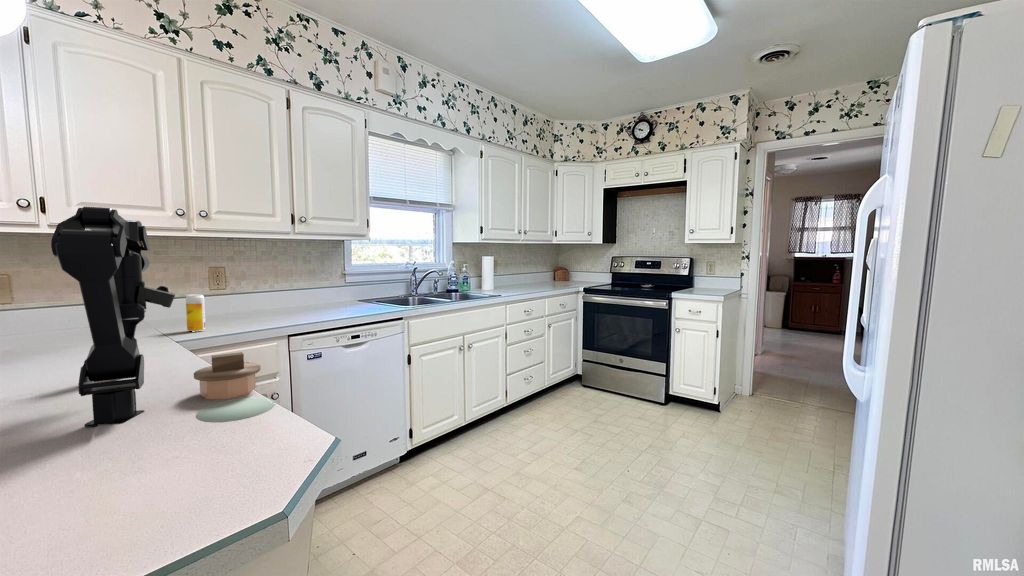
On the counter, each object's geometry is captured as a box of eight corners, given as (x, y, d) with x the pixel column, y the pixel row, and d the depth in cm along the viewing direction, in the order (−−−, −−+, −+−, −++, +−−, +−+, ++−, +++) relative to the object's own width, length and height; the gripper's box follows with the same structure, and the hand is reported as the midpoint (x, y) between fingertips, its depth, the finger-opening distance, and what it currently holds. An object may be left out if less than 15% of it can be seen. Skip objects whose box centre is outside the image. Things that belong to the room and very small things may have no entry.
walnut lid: (265, 374, 97) (264, 356, 97) (195, 385, 89) (194, 365, 88) (255, 362, 107) (254, 346, 107) (192, 371, 99) (191, 353, 98)
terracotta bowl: (242, 399, 94) (241, 378, 94) (192, 401, 93) (191, 380, 92) (260, 385, 104) (260, 366, 104) (216, 387, 102) (215, 367, 102)
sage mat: (259, 422, 82) (259, 420, 82) (180, 426, 80) (180, 424, 80) (285, 398, 96) (285, 396, 96) (217, 400, 93) (217, 398, 93)
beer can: (189, 330, 172) (187, 294, 171) (207, 329, 175) (205, 294, 174) (185, 332, 167) (183, 295, 166) (203, 331, 170) (202, 295, 168)
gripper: (172, 278, 91) (176, 348, 92) (170, 273, 105) (173, 334, 106) (101, 279, 83) (106, 355, 85) (109, 274, 98) (113, 340, 99)
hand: (129, 345), depth 94 cm, fingers open, 9 cm apart
